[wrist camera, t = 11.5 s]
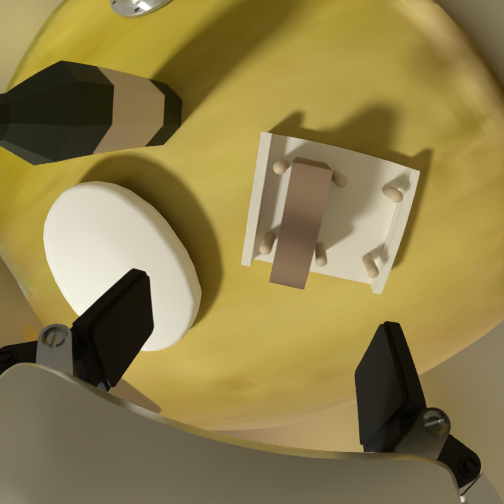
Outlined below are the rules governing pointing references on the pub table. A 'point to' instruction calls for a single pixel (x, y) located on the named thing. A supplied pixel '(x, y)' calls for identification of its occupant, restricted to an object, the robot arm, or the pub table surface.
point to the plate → (120, 255)
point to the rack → (334, 208)
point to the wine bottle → (85, 113)
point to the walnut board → (301, 221)
